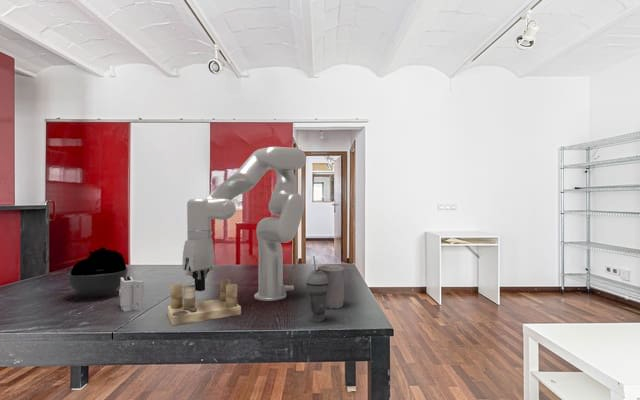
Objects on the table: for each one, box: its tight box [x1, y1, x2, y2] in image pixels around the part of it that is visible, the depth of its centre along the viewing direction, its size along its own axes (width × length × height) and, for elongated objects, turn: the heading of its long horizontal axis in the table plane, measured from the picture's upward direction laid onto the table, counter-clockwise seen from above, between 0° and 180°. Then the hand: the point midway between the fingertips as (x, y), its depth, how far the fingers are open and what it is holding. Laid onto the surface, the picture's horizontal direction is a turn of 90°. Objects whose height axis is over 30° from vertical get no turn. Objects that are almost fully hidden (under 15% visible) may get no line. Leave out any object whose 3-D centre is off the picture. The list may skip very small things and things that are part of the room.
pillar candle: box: [317, 263, 345, 310], centre depth 120 cm, size 10×10×15 cm
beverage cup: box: [305, 255, 329, 323], centre depth 105 cm, size 7×7×20 cm
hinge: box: [118, 275, 145, 312], centre depth 116 cm, size 14×5×10 cm, turn 47°
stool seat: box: [167, 278, 242, 326], centre depth 110 cm, size 21×13×10 cm, turn 120°
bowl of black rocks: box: [66, 246, 128, 298], centre depth 132 cm, size 20×20×19 cm
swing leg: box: [183, 284, 197, 312], centre depth 106 cm, size 7×4×7 cm, turn 41°
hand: (199, 290), depth 110 cm, fingers closed
